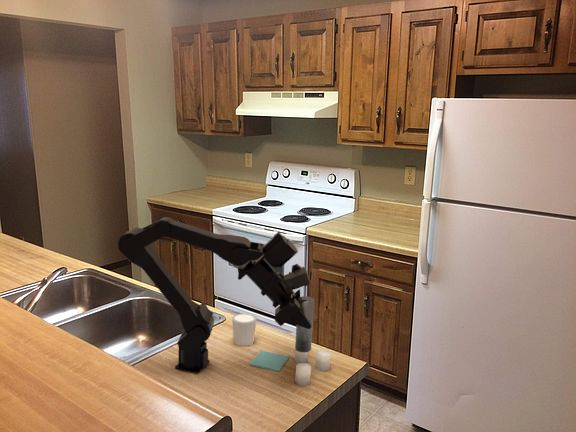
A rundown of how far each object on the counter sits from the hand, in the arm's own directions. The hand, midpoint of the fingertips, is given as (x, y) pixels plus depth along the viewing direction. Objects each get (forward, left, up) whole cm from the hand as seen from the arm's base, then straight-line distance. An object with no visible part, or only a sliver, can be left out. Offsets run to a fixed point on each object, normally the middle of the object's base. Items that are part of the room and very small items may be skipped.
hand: (310, 324), depth 120 cm
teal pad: (-10, +1, -12) cm, 16 cm away
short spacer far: (+3, +3, -12) cm, 13 cm away
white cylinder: (-21, +9, -13) cm, 26 cm away
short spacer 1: (-3, +5, -12) cm, 14 cm away
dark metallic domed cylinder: (-1, 0, -7) cm, 7 cm away
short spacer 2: (0, -6, -12) cm, 14 cm away
